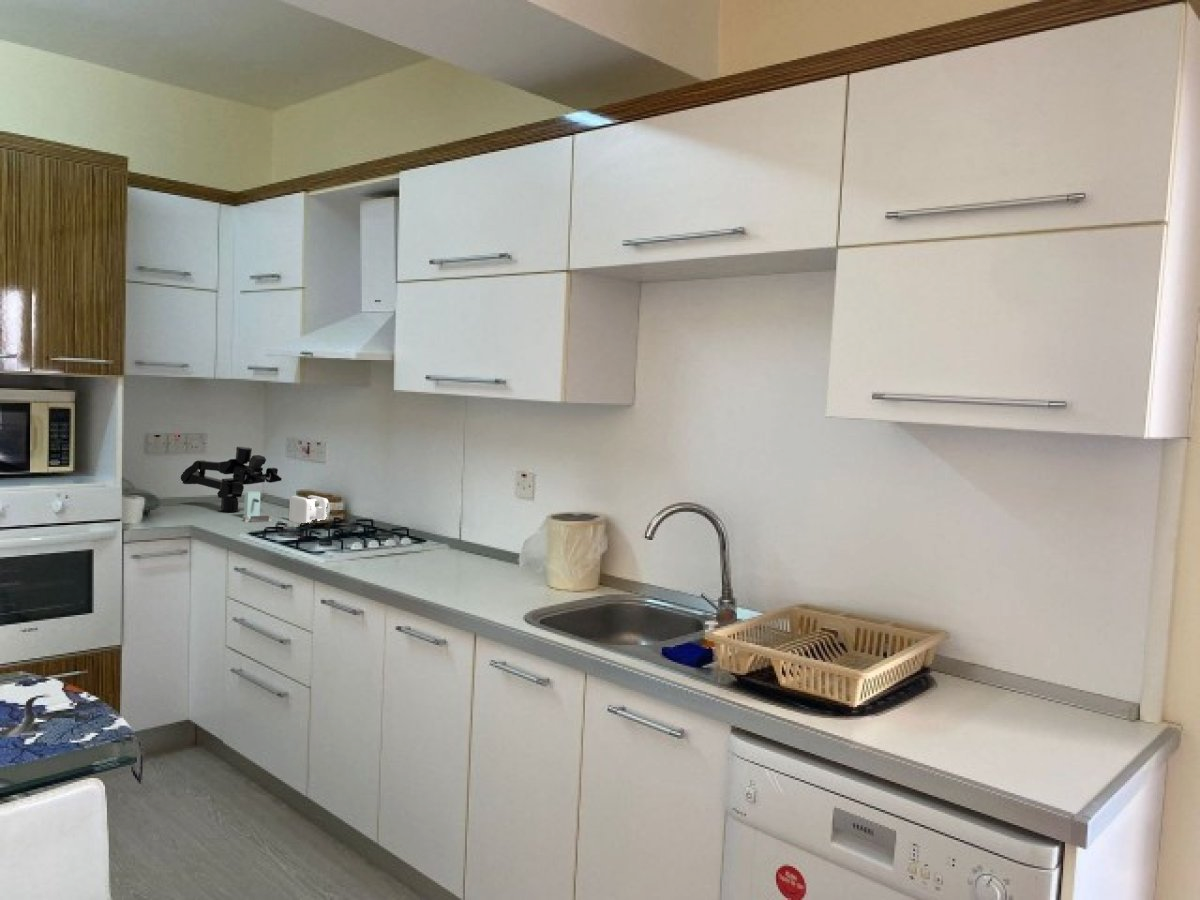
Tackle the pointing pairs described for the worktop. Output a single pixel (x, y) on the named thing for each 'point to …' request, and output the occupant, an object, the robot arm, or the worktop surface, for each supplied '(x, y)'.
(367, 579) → the worktop surface
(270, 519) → the comb rail
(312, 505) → the cable organizer
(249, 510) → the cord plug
